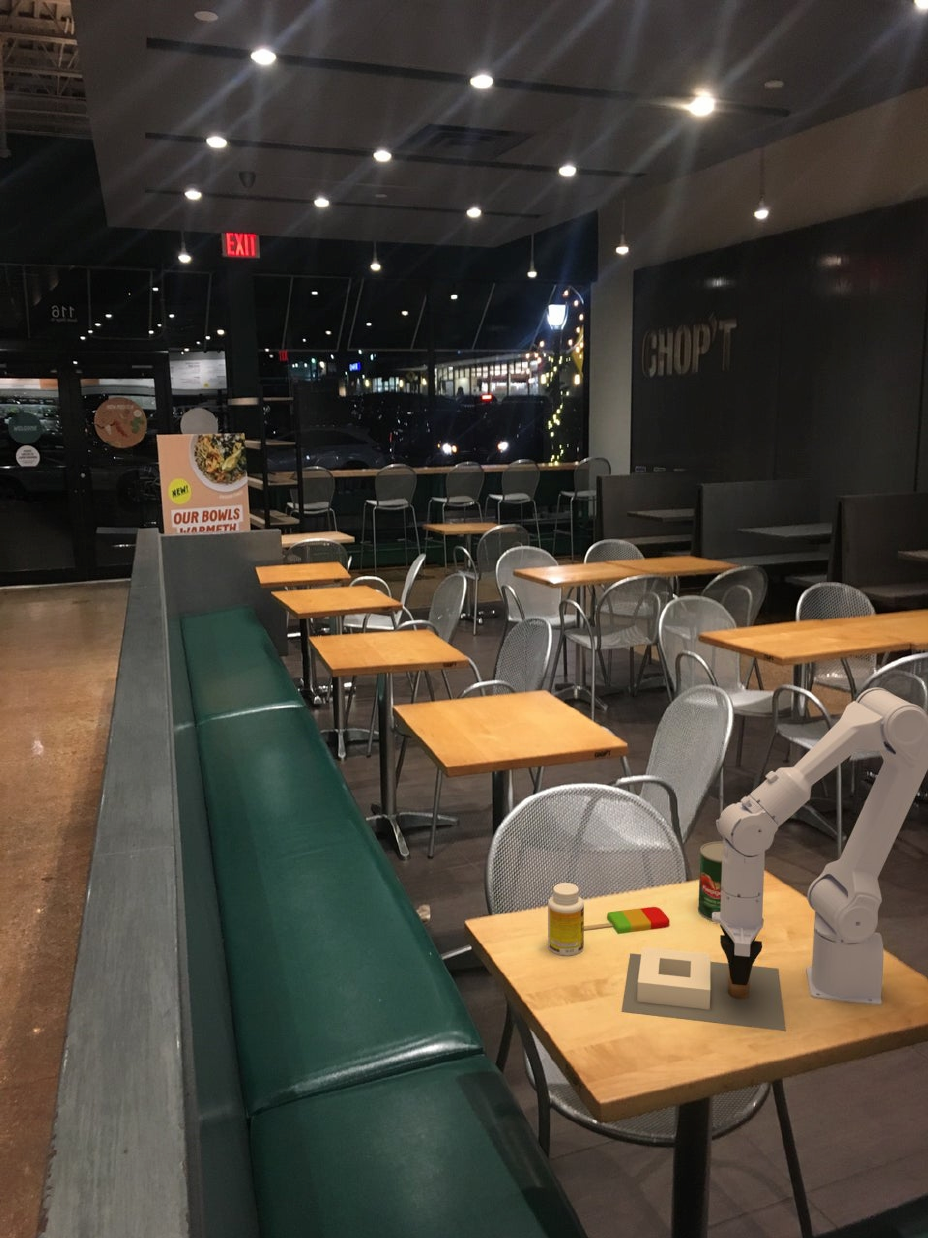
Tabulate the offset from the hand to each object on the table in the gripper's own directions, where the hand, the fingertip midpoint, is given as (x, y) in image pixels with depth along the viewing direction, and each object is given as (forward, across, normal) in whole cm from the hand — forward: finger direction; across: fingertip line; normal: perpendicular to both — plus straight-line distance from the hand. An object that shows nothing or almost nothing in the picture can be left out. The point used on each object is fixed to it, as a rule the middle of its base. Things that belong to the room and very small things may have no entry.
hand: (738, 977), depth 145 cm
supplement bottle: (+3, -8, -26) cm, 27 cm away
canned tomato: (+3, -25, -2) cm, 25 cm away
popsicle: (+4, -17, -18) cm, 25 cm away
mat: (+3, 0, -5) cm, 6 cm away
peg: (+3, 0, 0) cm, 3 cm away
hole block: (+3, 0, -9) cm, 9 cm away
